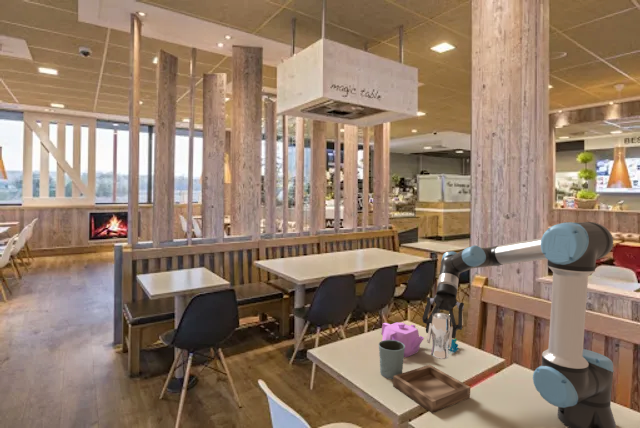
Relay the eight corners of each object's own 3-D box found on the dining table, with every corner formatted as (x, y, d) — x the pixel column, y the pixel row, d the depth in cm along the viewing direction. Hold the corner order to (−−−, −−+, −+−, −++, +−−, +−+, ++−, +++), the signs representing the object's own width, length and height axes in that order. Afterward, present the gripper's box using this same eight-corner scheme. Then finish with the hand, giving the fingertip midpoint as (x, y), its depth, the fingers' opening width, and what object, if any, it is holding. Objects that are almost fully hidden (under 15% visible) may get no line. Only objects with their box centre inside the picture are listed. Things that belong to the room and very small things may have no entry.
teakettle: (379, 341, 179) (380, 316, 178) (415, 342, 178) (416, 317, 178) (384, 357, 162) (385, 330, 161) (423, 359, 162) (425, 331, 161)
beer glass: (436, 360, 131) (438, 319, 130) (426, 352, 138) (427, 313, 137) (453, 358, 133) (455, 318, 132) (442, 350, 140) (444, 311, 138)
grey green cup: (407, 372, 149) (408, 343, 148) (398, 383, 140) (400, 352, 140) (383, 365, 154) (384, 337, 153) (374, 376, 146) (374, 346, 145)
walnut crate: (469, 397, 131) (470, 387, 131) (432, 413, 122) (432, 401, 121) (429, 374, 148) (429, 364, 147) (393, 386, 138) (393, 376, 138)
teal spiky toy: (450, 352, 165) (438, 331, 171) (440, 358, 168) (430, 337, 174) (464, 349, 171) (452, 329, 177) (455, 355, 175) (444, 335, 180)
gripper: (474, 296, 143) (468, 353, 130) (422, 289, 152) (412, 342, 139) (474, 286, 138) (468, 345, 125) (420, 279, 147) (410, 333, 133)
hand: (438, 343), depth 132 cm, fingers closed on beer glass, 7 cm apart
